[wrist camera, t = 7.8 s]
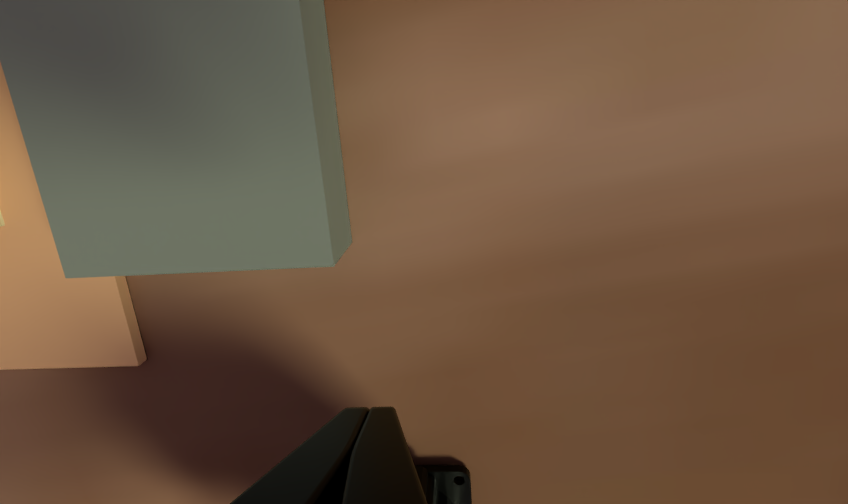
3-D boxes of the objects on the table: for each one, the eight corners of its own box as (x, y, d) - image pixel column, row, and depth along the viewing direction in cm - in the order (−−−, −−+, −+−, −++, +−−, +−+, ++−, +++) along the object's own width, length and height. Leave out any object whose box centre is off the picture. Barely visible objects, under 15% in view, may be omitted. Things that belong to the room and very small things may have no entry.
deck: (352, 242, 20) (333, 266, 17) (118, 253, 21) (65, 278, 18) (311, -104, 17) (279, -145, 14) (33, -72, 18) (-50, -105, 15)
